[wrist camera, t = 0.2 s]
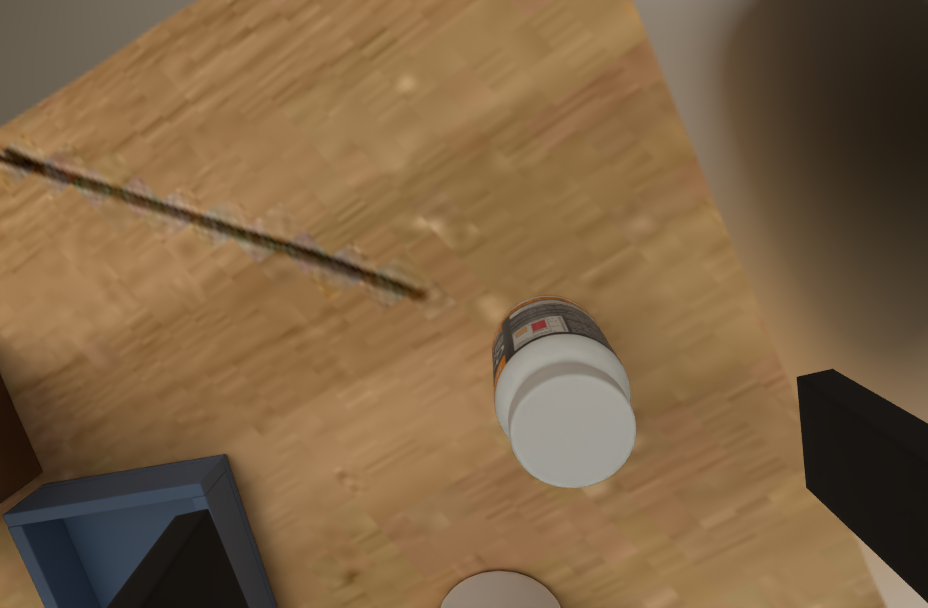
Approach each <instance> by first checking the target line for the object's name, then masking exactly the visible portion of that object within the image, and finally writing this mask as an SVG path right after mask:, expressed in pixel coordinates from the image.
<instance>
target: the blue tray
mask: <svg viewBox="0 0 928 608" xmlns="http://www.w3.org/2000/svg"><path fill="white" fill-rule="evenodd" d="M204 509H209V511H210V514H211V516H212V519H213V521H214V524H215V526H216V528H217V531H218V533H219V536H220V538H221V541H222V543H223V546H224V548H225V550H226V553H227V555H228V558H229V560H230V563H231V565H232V567H233V570H234V572H235V575H236V577H237V580H238V582H239V585H240V587H241V589H242V592H243V594H244V597H245V599H246V602H247V604H248V607H249V608H277V605H276V602H275V599H274V596H273V593H272V590H271V587H270V584H269V581H268V578H267V575H266V572H265V569H264V566H263V563H262V561H261V558H260V555H259V552H258V549H257V546H256V543H255V540H254V537H253V534H252V531H251V528H250V525H249V522H248V519H247V516H246V513H245V511H244V508H243V505H242V502H241V499H240V496H239V493H238V490H237V487H236V484H235V481H234V478H233V475H232V472H231V469H230V466H229V463H228V461H227V458H226V455H225V454H224V455H218V456H212V457H206V458H200V459H194V460H188V461H182V462H176V463H170V464H164V465H158V466H152V467H146V468H140V469H134V470H128V471H122V472H116V473H110V474H104V475H98V476H92V477H86V478H80V479H74V480H68V481H62V482H56V483H50V484H44V485H42V486H41V487H39V488H38V489H37V490H36V491H34V492H33V493H32V494H30V495H29V496H28V497H26V498H25V499H24V500H22V501H21V502H20V503H18V504H17V505H15V506H14V507H13V508H11V509H10V510H9V511H7V512H6V513H5V514H3V517H4V520H5V522H6V524H7V526H8V529H9V531H10V533H11V535H12V537H13V540H14V542H15V544H16V546H17V548H18V550H19V553H20V555H21V557H22V559H23V561H24V563H25V565H26V568H27V570H28V572H29V574H30V576H31V578H32V581H33V583H34V585H35V587H36V589H37V591H38V594H39V596H40V598H41V600H42V602H43V604H44V607H45V608H107V606H108V605H109V604H110V602H111V601H112V600H113V598H114V597H115V596H116V594H117V593H118V592H119V590H120V589H121V588H122V586H123V585H124V584H125V582H126V581H127V580H128V578H129V577H130V576H131V574H132V573H133V572H134V570H135V569H136V568H137V566H138V565H139V564H140V562H141V561H142V560H143V558H144V557H145V556H146V554H147V553H148V552H149V550H150V549H151V548H152V546H153V545H154V544H155V542H156V541H157V540H158V538H159V537H160V536H161V534H162V533H163V532H164V530H165V529H166V528H167V526H168V525H169V524H170V522H171V521H172V520H173V518H174V517H175V516H177V515H182V514H186V513H190V512H195V511H199V510H204Z"/></svg>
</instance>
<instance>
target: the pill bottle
mask: <svg viewBox="0 0 928 608" xmlns="http://www.w3.org/2000/svg"><path fill="white" fill-rule="evenodd" d="M492 355H493V378H494V403H495V410H496V415H497V419H498V421H499V424H500V426H501V428H502V430H503V431H504V433H505V434H506V436H507V437H508V438H509V439H510V442H511V446H512V449H513V451H514V454H515V456H516V458H517V459H518V461H519V463H520V464H521V465H522V466H523V467H524V469H525V470H526V471H528V472H529V473H530V474H531V475H532V476H534V477H535V478H537V479H539V480H540V481H542V482H545V483H547V484H550V485H553V486H557V487H563V488H579V487H586V486H591V485H594V484H596V483H599V482H601V481H603V480H605V479H607V478H608V477H610V476H611V475H612V474H614V473H615V472H616V471H617V470H618V469H619V468H620V467H621V466H622V465H623V464H624V463H625V462H626V460H627V459H628V457H629V455H630V453H631V451H632V449H633V446H634V443H635V438H636V420H635V416H634V412H633V410H632V407H631V405H630V400H631V393H630V384H629V380H628V377H627V374H626V371H625V369H624V367H623V365H622V363H621V361H620V360H619V358H618V357H617V355H616V354H615V352H614V351H613V349H612V348H611V346H610V345H609V343H608V342H607V340H606V338H605V337H604V335H603V333H602V332H601V330H600V329H599V327H598V326H597V324H596V323H595V321H594V320H593V318H592V317H591V316H590V315H589V314H588V313H587V311H586V310H585V309H583V308H582V307H581V306H580V305H578V304H576V303H575V302H573V301H571V300H568V299H566V298H562V297H558V296H550V295H544V296H537V297H533V298H529V299H527V300H524V301H522V302H520V303H519V304H517V305H516V306H514V307H513V308H512V309H511V310H509V311H508V312H507V313H506V314H505V315H504V317H503V318H502V320H501V321H500V323H499V325H498V327H497V329H496V332H495V335H494V339H493V346H492Z"/></svg>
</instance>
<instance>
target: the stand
mask: <svg viewBox="0 0 928 608" xmlns="http://www.w3.org/2000/svg"><path fill="white" fill-rule="evenodd" d="M40 474H42V472H41V469H40V467H39V465H38V462H37V460H36V458H35V455H34V453H33V451H32V448H31V446H30V444H29V442H28V439H27V437H26V435H25V432H24V430H23V428H22V425H21V423H20V421H19V418H18V416H17V414H16V411H15V409H14V407H13V405H12V402H11V400H10V398H9V395H8V393H7V391H6V388H5V386H4V384H3V381H2V379H1V377H0V503H1V502H3V501H4V500H6V499H7V498H8V497H10V496H11V495H13V494H14V493H15V492H17V491H18V490H19V489H21V488H22V487H24V486H25V485H26V484H28V483H29V482H31V481H32V480H33V479H35V478H36V477H38V476H39V475H40Z"/></svg>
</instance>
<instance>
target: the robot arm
mask: <svg viewBox="0 0 928 608" xmlns="http://www.w3.org/2000/svg"><path fill="white" fill-rule="evenodd" d="M797 386H798V398H799V409H800V421H801V432H802V444H803V456H804V467H805V479H806V488H807V489H808V490H809V491H811V492H812V493H813V494H814V495H815V496H816V497H817V498H818V499H819V500H820V501H821V502H822V503H823V504H824V505H825V506H826V507H827V508H828V509H829V510H831V511H832V512H833V513H834V514H835V515H836V516H837V517H838V518H839V519H840V520H841V521H842V522H843V523H844V524H845V525H846V526H847V527H848V528H849V529H851V530H852V531H853V532H854V533H855V534H856V535H857V536H858V537H859V538H860V539H861V540H862V541H863V542H864V543H865V544H866V545H867V546H869V547H870V548H871V549H872V550H873V551H874V552H875V553H876V554H877V555H878V556H879V557H880V558H881V559H882V560H883V561H884V562H885V563H886V564H887V565H889V567H891V568H892V569H893V570H894V571H895V572H896V573H897V574H898V575H899V576H900V577H901V578H902V579H903V580H904V581H905V582H906V583H907V584H908V585H909V586H911V587H912V588H913V589H914V590H915V591H916V592H917V593H918V594H919V595H920V596H921V597H922V598H923V599H924V600H925V601H926V602H927V603H928V423H926V422H924V421H922V420H921V419H918V418H917V417H915V416H914V415H912V414H910V413H908V412H907V411H905V410H903V409H901V408H900V407H898V406H896V405H895V404H892V403H891V402H889V401H887V400H886V399H884V398H882V397H881V396H879V395H877V394H875V393H874V392H872V391H870V390H868V389H867V388H865V387H863V386H861V385H859V384H858V383H856V382H855V381H853V380H851V379H849V378H848V377H846V376H844V375H842V374H841V373H839V372H837V371H835V370H834V369H830V370H825V371H821V372H817V373H812V374H808V375H803V376H799V377H797ZM107 608H249V607H248V604H247V602H246V599H245V597H244V594H243V592H242V589H241V587H240V585H239V582H238V580H237V577H236V575H235V572H234V570H233V567H232V565H231V563H230V560H229V558H228V555H227V553H226V550H225V548H224V546H223V543H222V541H221V538H220V536H219V533H218V531H217V528H216V526H215V524H214V521H213V519H212V516H211V514H210V511H209V509H204V510H199V511H195V512H190V513H186V514H182V515H177V516H175V517H174V518H173V520H172V521H171V522H170V524H169V525H168V526H167V528H166V529H165V530H164V532H163V533H162V534H161V536H160V537H159V538H158V540H157V541H156V542H155V544H154V545H153V546H152V548H151V549H150V550H149V552H148V553H147V554H146V556H145V557H144V558H143V560H142V561H141V562H140V564H139V565H138V566H137V568H136V569H135V570H134V572H133V573H132V574H131V576H130V577H129V578H128V580H127V581H126V582H125V584H124V585H123V586H122V588H121V589H120V590H119V592H118V593H117V594H116V596H115V597H114V598H113V600H112V601H111V602H110V604H109V605H108V606H107Z"/></svg>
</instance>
